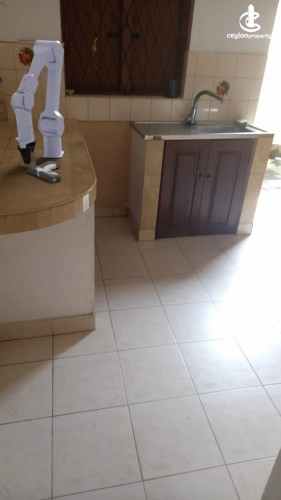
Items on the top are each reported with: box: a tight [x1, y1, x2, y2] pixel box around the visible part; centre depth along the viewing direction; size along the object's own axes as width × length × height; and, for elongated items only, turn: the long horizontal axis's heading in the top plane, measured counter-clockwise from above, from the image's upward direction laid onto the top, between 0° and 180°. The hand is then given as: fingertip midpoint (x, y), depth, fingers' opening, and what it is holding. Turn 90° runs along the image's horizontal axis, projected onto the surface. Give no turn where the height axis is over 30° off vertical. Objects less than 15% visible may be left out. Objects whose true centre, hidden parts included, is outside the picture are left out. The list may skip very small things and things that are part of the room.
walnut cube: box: [19, 150, 37, 168], centre depth 141 cm, size 5×5×5 cm
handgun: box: [27, 160, 62, 184], centre depth 135 cm, size 2×18×12 cm
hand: (28, 161), depth 142 cm, fingers closed on walnut cube, 5 cm apart
